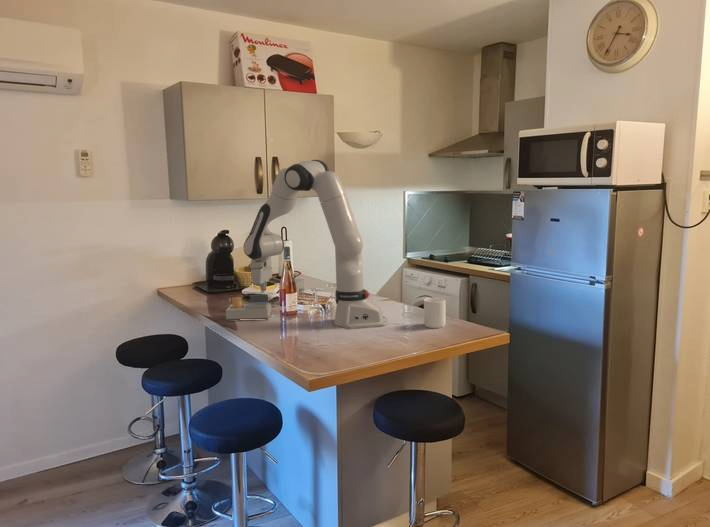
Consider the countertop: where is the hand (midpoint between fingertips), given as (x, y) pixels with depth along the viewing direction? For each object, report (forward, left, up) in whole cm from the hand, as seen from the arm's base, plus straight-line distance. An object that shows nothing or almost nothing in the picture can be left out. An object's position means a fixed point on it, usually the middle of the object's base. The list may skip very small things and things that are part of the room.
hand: (263, 291), depth 252 cm
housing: (+5, +12, -9) cm, 16 cm away
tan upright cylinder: (+10, +13, -8) cm, 18 cm away
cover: (+1, +12, -4) cm, 13 cm away
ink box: (-12, -15, -10) cm, 21 cm away
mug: (-75, +34, -10) cm, 83 cm away
